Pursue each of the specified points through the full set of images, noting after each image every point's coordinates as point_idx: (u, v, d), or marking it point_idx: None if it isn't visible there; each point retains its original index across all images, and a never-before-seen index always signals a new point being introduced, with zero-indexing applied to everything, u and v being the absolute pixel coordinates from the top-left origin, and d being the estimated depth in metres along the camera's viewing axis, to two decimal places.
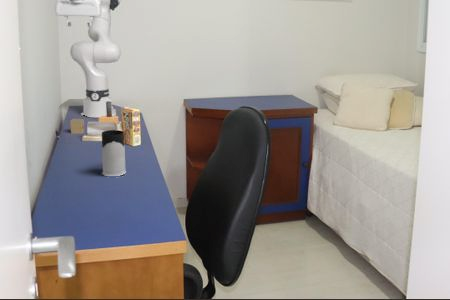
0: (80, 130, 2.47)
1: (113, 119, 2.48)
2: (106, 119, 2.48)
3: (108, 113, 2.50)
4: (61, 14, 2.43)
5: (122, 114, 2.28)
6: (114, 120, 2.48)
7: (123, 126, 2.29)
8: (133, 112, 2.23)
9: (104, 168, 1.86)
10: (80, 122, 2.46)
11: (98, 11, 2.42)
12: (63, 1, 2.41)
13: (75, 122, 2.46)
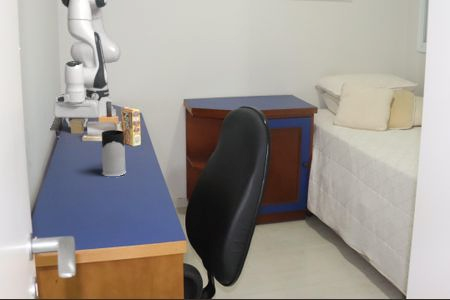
0: (80, 130, 2.47)
1: (113, 119, 2.48)
2: (106, 119, 2.48)
3: (108, 113, 2.50)
4: (59, 116, 2.45)
5: (122, 114, 2.28)
6: (114, 120, 2.48)
7: (123, 126, 2.29)
8: (133, 112, 2.23)
9: (104, 168, 1.86)
10: (80, 122, 2.46)
11: (96, 113, 2.45)
12: (61, 104, 2.43)
13: (75, 122, 2.46)
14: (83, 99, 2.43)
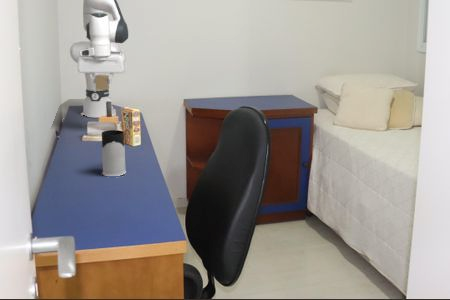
0: (105, 86, 2.34)
1: (113, 119, 2.48)
2: (106, 119, 2.48)
3: (108, 113, 2.50)
4: (83, 71, 2.33)
5: (122, 114, 2.28)
6: (114, 120, 2.48)
7: (123, 126, 2.29)
8: (133, 112, 2.23)
9: (104, 168, 1.86)
10: (105, 77, 2.33)
11: (122, 68, 2.33)
12: (86, 58, 2.31)
13: (100, 77, 2.33)
14: (109, 53, 2.31)
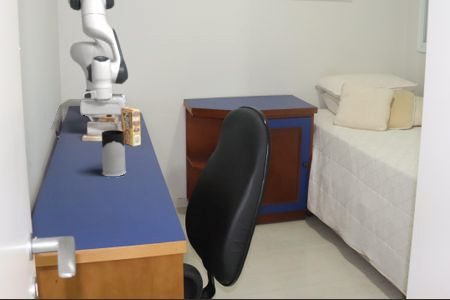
0: None
1: (113, 119, 2.48)
2: None
3: None
4: (86, 113, 2.38)
5: (122, 114, 2.28)
6: None
7: (123, 126, 2.29)
8: (133, 112, 2.23)
9: (104, 168, 1.86)
10: None
11: None
12: (88, 101, 2.35)
13: None
14: (110, 95, 2.36)
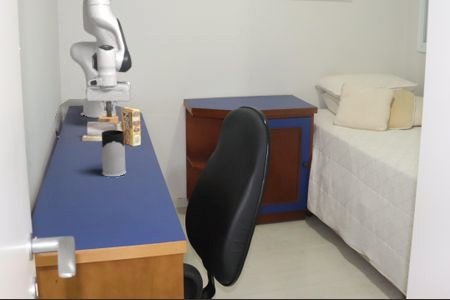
0: None
1: (113, 119, 2.48)
2: None
3: (108, 113, 2.50)
4: (91, 100, 2.48)
5: (122, 114, 2.28)
6: (114, 120, 2.48)
7: (123, 126, 2.29)
8: (133, 112, 2.23)
9: (104, 168, 1.86)
10: None
11: (128, 97, 2.48)
12: (94, 88, 2.46)
13: None
14: (115, 83, 2.46)
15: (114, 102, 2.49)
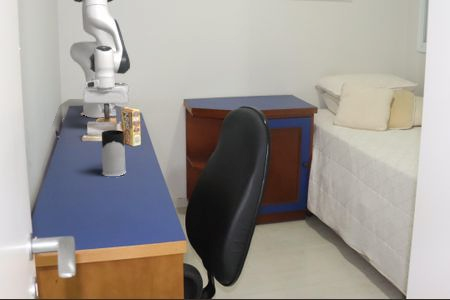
0: None
1: (111, 121, 2.43)
2: None
3: (106, 115, 2.45)
4: (89, 102, 2.43)
5: (122, 114, 2.28)
6: None
7: (123, 126, 2.29)
8: (133, 112, 2.23)
9: (104, 168, 1.86)
10: None
11: (126, 99, 2.43)
12: (91, 89, 2.41)
13: None
14: (113, 84, 2.41)
15: (112, 104, 2.44)
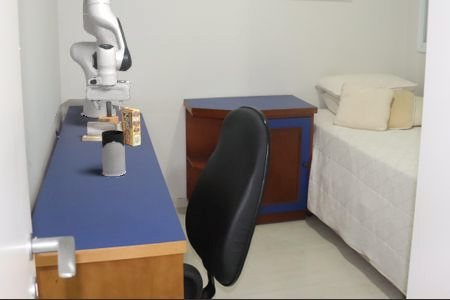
0: None
1: (113, 119, 2.48)
2: None
3: (108, 113, 2.50)
4: (91, 99, 2.48)
5: (122, 114, 2.28)
6: (114, 120, 2.48)
7: (123, 126, 2.29)
8: (133, 112, 2.23)
9: (104, 168, 1.86)
10: None
11: (127, 96, 2.48)
12: (93, 87, 2.46)
13: None
14: (115, 82, 2.46)
15: (120, 101, 2.49)
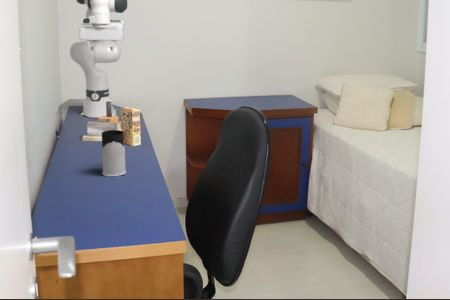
0: None
1: (113, 119, 2.48)
2: None
3: (108, 113, 2.50)
4: (84, 39, 2.45)
5: (122, 114, 2.28)
6: (114, 120, 2.48)
7: (123, 126, 2.29)
8: (133, 112, 2.23)
9: (104, 168, 1.86)
10: None
11: (121, 36, 2.45)
12: (86, 26, 2.43)
13: None
14: (108, 21, 2.43)
15: (113, 41, 2.46)
